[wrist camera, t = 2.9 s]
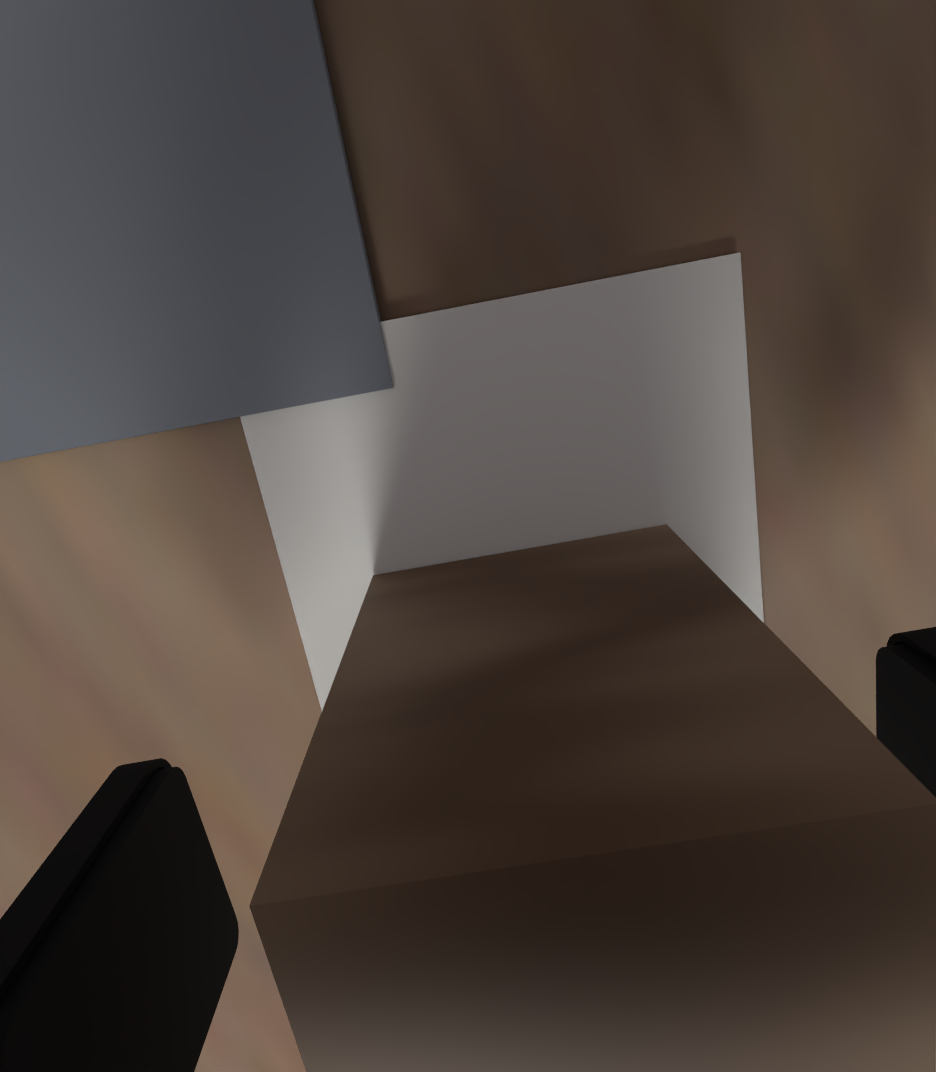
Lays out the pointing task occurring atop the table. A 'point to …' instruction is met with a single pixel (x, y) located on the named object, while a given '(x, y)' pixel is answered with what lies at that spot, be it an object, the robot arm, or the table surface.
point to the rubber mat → (173, 221)
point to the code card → (521, 441)
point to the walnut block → (596, 836)
